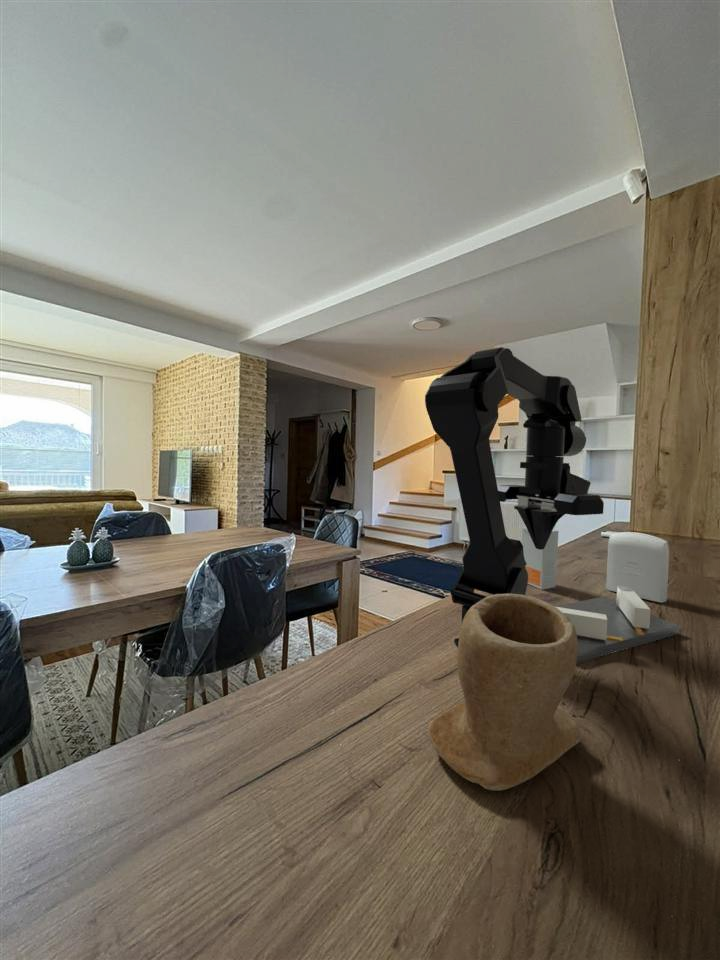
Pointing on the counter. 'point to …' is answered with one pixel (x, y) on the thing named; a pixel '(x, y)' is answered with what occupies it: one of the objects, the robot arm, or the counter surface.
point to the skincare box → (541, 560)
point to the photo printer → (638, 565)
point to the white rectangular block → (587, 623)
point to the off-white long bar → (633, 607)
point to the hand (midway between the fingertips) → (539, 549)
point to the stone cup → (509, 692)
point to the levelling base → (617, 630)
